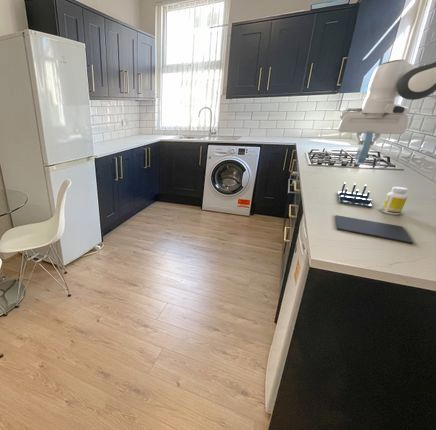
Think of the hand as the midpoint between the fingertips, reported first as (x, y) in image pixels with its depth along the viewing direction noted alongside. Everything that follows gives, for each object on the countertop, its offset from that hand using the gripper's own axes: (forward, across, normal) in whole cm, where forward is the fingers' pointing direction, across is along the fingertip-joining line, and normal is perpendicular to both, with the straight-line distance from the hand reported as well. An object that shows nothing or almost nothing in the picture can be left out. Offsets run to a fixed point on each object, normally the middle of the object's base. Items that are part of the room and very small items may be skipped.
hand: (364, 144), depth 113 cm
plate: (+8, 0, 0) cm, 8 cm away
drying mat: (+23, +4, -34) cm, 41 cm away
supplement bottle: (+24, +12, -10) cm, 29 cm away
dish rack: (+23, +2, 0) cm, 23 cm away
